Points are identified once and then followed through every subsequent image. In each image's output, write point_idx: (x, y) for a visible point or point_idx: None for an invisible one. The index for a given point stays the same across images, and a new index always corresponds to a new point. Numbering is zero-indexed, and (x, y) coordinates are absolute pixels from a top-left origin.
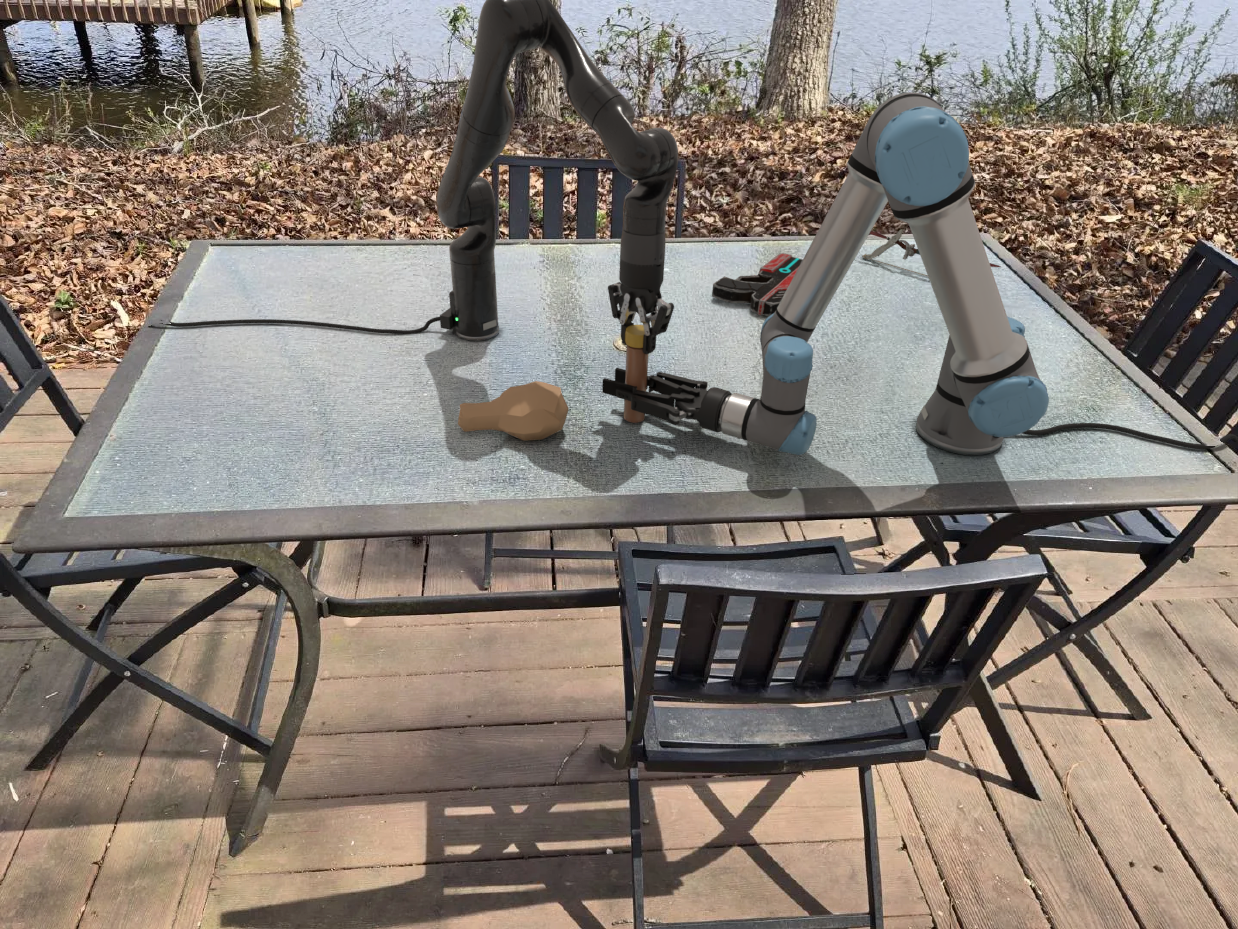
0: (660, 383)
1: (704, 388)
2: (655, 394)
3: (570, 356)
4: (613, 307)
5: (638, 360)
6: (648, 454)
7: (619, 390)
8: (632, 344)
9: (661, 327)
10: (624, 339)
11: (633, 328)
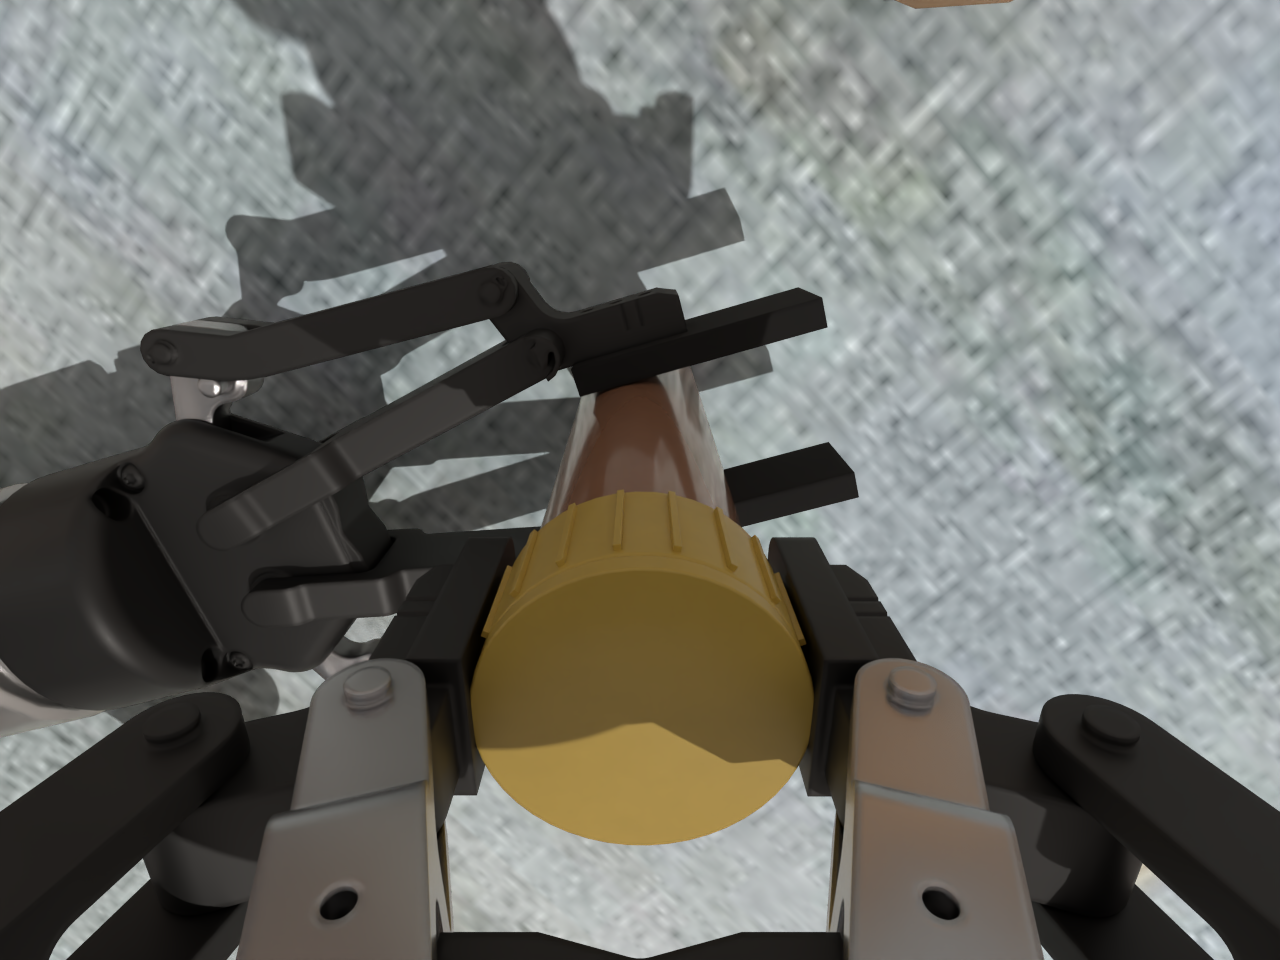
0: None
1: None
2: (427, 420)
3: (1273, 586)
4: (1253, 847)
5: (562, 483)
6: (332, 173)
7: (654, 303)
8: (596, 510)
9: (159, 879)
10: (786, 559)
11: (721, 704)
